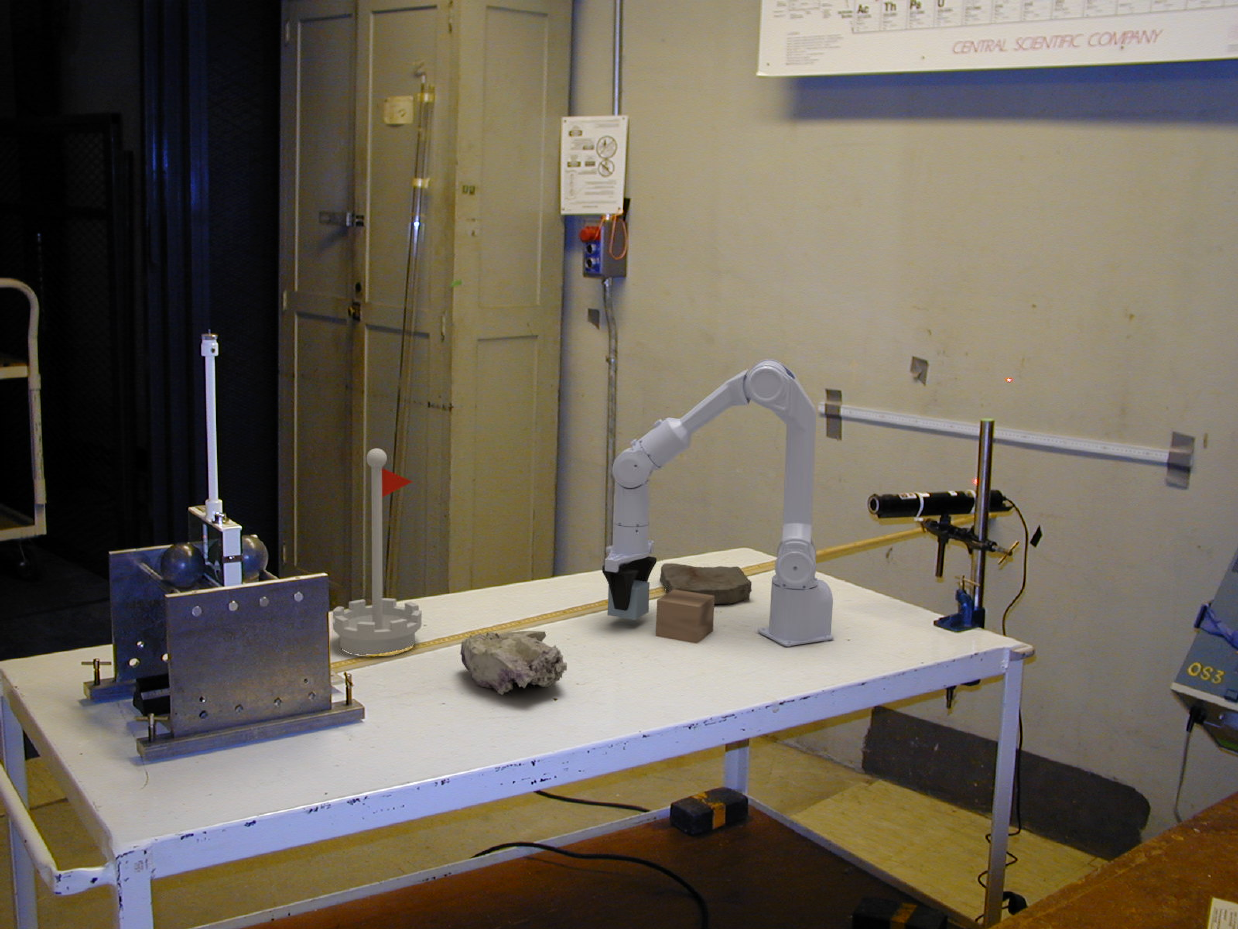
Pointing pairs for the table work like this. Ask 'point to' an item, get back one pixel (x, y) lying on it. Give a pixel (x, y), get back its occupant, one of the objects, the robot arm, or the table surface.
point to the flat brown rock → (707, 581)
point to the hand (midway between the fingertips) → (628, 604)
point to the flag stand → (377, 586)
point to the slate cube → (632, 602)
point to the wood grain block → (685, 616)
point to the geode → (512, 660)
